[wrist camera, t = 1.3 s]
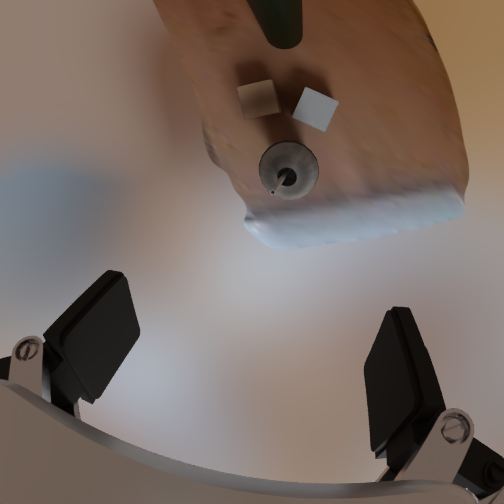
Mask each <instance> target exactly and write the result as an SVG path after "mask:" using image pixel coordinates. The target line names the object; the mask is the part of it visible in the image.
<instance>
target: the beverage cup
mask: <svg viewBox="0 0 504 504" xmlns="http://www.w3.org/2000/svg"><path fill="white" fill-rule="evenodd" d="M318 174H319V166H318V163H317V159H316V157H315V156H314V154H313V153H312V151H311V150H310V149H308V148H307V147H306V146H305V145H303V144H300V143H298V142H295V141H282V142H278V143H275V144H274V145H272V146H271V147H269V148H268V149H267V150H266V151H265V153H264V154H263V155H262V157H261V160H260V163H259V175H260V178H261V181H262V184H263V185H264V187H265V188H266V189H267V191H268V192H270V194H271V195H274V196H275V197H278V198H281V199H286V200H293V199H297V198H301V197H302V196H304V195H306V194H307V193H308V192H309V191H310V190H311V189H312V188H313V187H314V186H315V184H316V181H317V179H318Z"/></svg>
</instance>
